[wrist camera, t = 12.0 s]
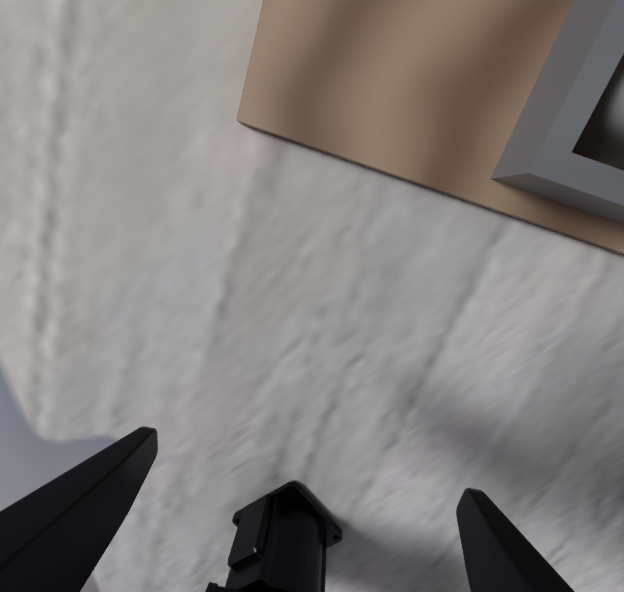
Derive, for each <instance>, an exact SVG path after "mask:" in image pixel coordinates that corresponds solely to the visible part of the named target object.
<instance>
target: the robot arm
mask: <svg viewBox="0 0 624 592" xmlns="http://www.w3.org/2000/svg"><path fill="white" fill-rule="evenodd" d="M157 451H158V441H157V430H156V429H155V428H150V427H144V426H143V427H140V428H138V429H137V430H135V431H133V432H132V433H130V434H128V435H127V436H125V437H123V438H122V439H120V440H118V441H117V442H115V443H113V444H112V445H110V446H108V447H107V448H105V449H103V450H102V451H100V452H98V453H97V454H95V455H93V456H92V457H90V458H88V459H87V460H85V461H83V462H82V463H80V464H78V465H77V466H75V467H74V468H72V469H70V470H68V471H67V472H65V473H64V474H62V475H60V476H58V477H57V478H55V479H54V480H52V481H50V482H48V483H47V484H45V485H43V486H42V487H40V488H38V489H37V490H36V491H33V492H32V493H30V494H28V495H27V496H25V497H23V498H22V499H20V500H18V501H17V502H15V503H13V504H12V505H10V506H8V507H7V508H5V509H4V510H2V511H0V592H80V591H81V589H82V588H83V586H84V584H85V583H86V581H87V579H88V578H89V576H90V575H91V573H92V571H93V570H94V568H95V566H96V565H97V563H98V562H99V560H100V558H101V557H102V555H103V553H104V552H105V550H106V549H107V547H108V545H109V544H110V542H111V540H112V539H113V537H114V536H115V534H116V532H117V531H118V529H119V527H120V526H121V524H122V523H123V521H124V519H125V517H126V516H127V514H128V512H129V510H130V508H131V506H132V504H133V502H134V500H135V498H136V496H137V494H138V492H139V490H140V488H141V486H142V484H143V482H144V480H145V478H146V476H147V474H148V472H149V470H150V468H151V466H152V464H153V462H154V460H155V458H156V455H157ZM456 515H457V521H458V527H459V533H460V538H461V544H462V549H463V555H464V560H465V566H466V571H467V576H468V581H469V585H470V589H471V592H574V591H573V589H572V588H571V587H570V586H569V585H568V584H567V583H566V582H565V581H564V580H563V578H562V577H561V576H560V575H559V574H558V573H557V572H556V571H555V570H554V569H553V568H552V566H551V565H550V564H549V563H548V562H547V561H546V560H545V559H544V558H543V557H542V555H541V554H540V553H539V552H538V551H537V550H536V549H535V548H534V547H533V546H532V545H531V543H530V542H529V541H528V540H527V539H526V538H525V537H524V536H523V535H522V534H521V532H520V531H519V530H518V529H517V528H516V527H515V526H514V525H513V524H512V523H511V521H510V520H509V519H508V518H507V517H506V516H505V515H504V514H503V513H502V512H501V511H500V509H499V508H498V507H497V506H496V505H495V504H494V503H493V502H492V501H491V500H490V498H489V497H488V496H487V495H486V494H485V493H484V492H483V491H481V490H478V489H472V488H466V489H465V491H464V493H463V495H462V497H461V499H460V501H459V504H458V506H457V510H456ZM232 521H233V523H234V524H235V525H236V526H237V527H238V529H237V532H236V535H235V539H234V542H233V545H232V548H231V552H230V555H229V558H228V566H229V567H230V571H229V575H228V578H227V582H226V585H225V587H221V586H218V584H216V583H212V582H209V584H208V587H207V589H206V592H325V575H326V548H328V547H330V546H332V545H334V544H336V543H338V542H340V541H341V540H342V531H341V529H340V528H339V527H338V526H337V525H336V524H335V523H334V522H333V521H332V520H331V519H330V518H329V517H328V516H327V515H326V514H325V513H324V511H323V510H322V509H321V508H320V507H319V506H318V505H317V504H316V503H315V502H314V501H313V500H312V499H311V498H310V497H309V496H308V495H307V494H306V492H305V491H304V490H303V489H302V488H301V487H300V486H299V485H298V484H297V483H295V482H288V483H287V484H285V485H283V486H281V487H280V488H278V489H276V490H274V491H273V492H271V493H269V494H267V495H265V496H263V497H261V498H260V499H258V500H256V501H254V502H253V503H251V504H249V505H247V506H246V507H244V508H243V509H241V510H239V511H238V512H236V513H235V514H234V517H233V520H232Z"/></svg>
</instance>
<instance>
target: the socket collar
mask: <svg viewBox="0 0 624 592" xmlns="http://www.w3.org/2000/svg"><path fill="white" fill-rule="evenodd" d="M623 54H624V0H574V1H573V3H572V5H571V7H570V9H569V11H568V13H567V16H566V18H565V20H564V22H563V24H562V26H561V28H560V31H559V33H558V35H557V37H556V39H555V41H554V43H553V46H552V48H551V50H550V52H549V54H548V56H547V58H546V61H545V63H544V65H543V67H542V69H541V71H540V73H539V76H538V78H537V80H536V82H535V84H534V86H533V88H532V91H531V93H530V95H529V97H528V99H527V101H526V103H525V106H524V108H523V110H522V112H521V114H520V116H519V118H518V120H517V123H516V125H515V127H514V129H513V131H512V133H511V135H510V138H509V140H508V142H507V144H506V146H505V148H504V150H503V153H502V155H501V157H500V159H499V161H498V163H497V165H496V168H495V170H494V172H493V174H492V176H491V178H490V179H493V180H496V181H498V182H501V183H504V184H507V185H510V186H513V187H516V188H519V189H522V190H525V191H528V192H530V193H533V194H536V195H539V196H542V197H545V198H548V199H551V200H554V201H557V202H559V203H562V204H565V205H568V206H571V207H574V208H577V209H580V210H583V211H586V212H589V213H591V214H594V215H597V216H600V217H603V218H606V219H609V220H612V221H615V222H618V223H621V224H623V225H624V171H623V170H621V169H618V168H615V167H612V166H609V165H606V164H603V163H600V162H598V161H595V160H592V159H589V158H586V157H583V156H580V155H577V154H574V153H572V150H573V148H574V146H575V145H576V143H577V141H578V139H579V137H580V135H581V133H582V131H583V129H584V128H585V126H586V124H587V122H588V120H589V118H590V116H591V114H592V112H593V111H594V109H595V107H596V105H597V103H598V101H599V99H600V97H601V95H602V93H603V92H604V90H605V88H606V86H607V84H608V82H609V80H610V78H611V76H612V75H613V73H614V71H615V69H616V67H617V65H618V63H619V61H620V59H621V58H622V56H623Z"/></svg>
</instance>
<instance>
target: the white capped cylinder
mask: <svg viewBox="0 0 624 592" xmlns="http://www.w3.org/2000/svg"><path fill="white" fill-rule="evenodd" d="M575 147H576V149H577V151H578V152H579V154H580V155H581V156H583V157H586V158H589V159H592V160H595V161H598V162H600V163H603V164H606V165H609V166H612V167H615V168H618V169H619V168H624V55H623V56H622V58H621V59H620V61H619V63H618V65H617V67H616V69H615V71H614V73H613V75H612V76H611V78H610V80H609V82H608V84H607V86H606V88H605V90H604V92H603V93H602V95H601V97H600V99H599V101H598V103H597V105H596V107H595V109H594V111H593V112H592V114H591V116H590V118H589V120H588V122H587V124H586V126H585V128H584V129H583V131H582V133H581V135H580V137H579V139H578V141H577V143H576V145H575Z"/></svg>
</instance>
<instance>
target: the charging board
mask: <svg viewBox="0 0 624 592" xmlns="http://www.w3.org/2000/svg"><path fill="white" fill-rule="evenodd" d="M573 1H574V0H263V4H262V8H261V13H260V17H259V22H258V26H257V31H256V35H255V40H254V44H253V49H252V53H251V58H250V62H249V67H248V71H247V76H246V80H245V85H244V89H243V94H242V98H241V103H240V107H239V112H238V116H237V121H238V122H239V123H241V124H243V125H246V126H249V127H252V128H255V129H257V130H260V131H263V132H266V133H269V134H272V135H275V136H278V137H281V138H284V139H287V140H290V141H293V142H295V143H298V144H301V145H304V146H307V147H310V148H313V149H316V150H319V151H322V152H325V153H328V154H330V155H333V156H336V157H339V158H342V159H345V160H348V161H351V162H354V163H357V164H360V165H363V166H366V167H368V168H371V169H374V170H377V171H380V172H383V173H386V174H389V175H392V176H395V177H398V178H401V179H403V180H406V181H409V182H412V183H415V184H418V185H421V186H424V187H427V188H430V189H433V190H436V191H438V192H441V193H444V194H447V195H450V196H453V197H456V198H459V199H462V200H465V201H468V202H471V203H474V204H476V205H479V206H482V207H485V208H488V209H491V210H494V211H497V212H500V213H503V214H506V215H509V216H511V217H514V218H517V219H520V220H523V221H526V222H529V223H532V224H535V225H538V226H541V227H544V228H547V229H549V230H552V231H555V232H558V233H561V234H564V235H567V236H570V237H573V238H576V239H579V240H582V241H584V242H587V243H590V244H593V245H596V246H599V247H602V248H605V249H608V250H611V251H614V252H617V253H619V254H622V255H624V225H623V224H621V223H618V222H615V221H612V220H609V219H606V218H603V217H600V216H597V215H594V214H591V213H589V212H586V211H583V210H580V209H577V208H574V207H571V206H568V205H565V204H562V203H559V202H557V201H554V200H551V199H548V198H545V197H542V196H539V195H536V194H533V193H530V192H528V191H525V190H522V189H519V188H516V187H513V186H510V185H507V184H504V183H501V182H498V181H496V180H493V179H490V178H491V176H492V174H493V172H494V170H495V168H496V165H497V163H498V161H499V159H500V157H501V155H502V153H503V150H504V148H505V146H506V144H507V142H508V140H509V138H510V135H511V133H512V131H513V129H514V127H515V125H516V123H517V120H518V118H519V116H520V114H521V112H522V110H523V108H524V106H525V103H526V101H527V99H528V97H529V95H530V93H531V91H532V88H533V86H534V84H535V82H536V80H537V78H538V76H539V73H540V71H541V69H542V67H543V65H544V63H545V61H546V58H547V56H548V54H549V52H550V50H551V48H552V46H553V43H554V41H555V39H556V37H557V35H558V33H559V31H560V28H561V26H562V24H563V22H564V20H565V18H566V16H567V13H568V11H569V9H570V7H571V5H572V3H573ZM623 55H624V54H623ZM572 153H574V154H577V155H580V154H579V152H578V151H577V149H576V147H575V146H574V148H573V150H572ZM580 156H581V155H580ZM619 169H621V170H623V171H624V168H619Z"/></svg>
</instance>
